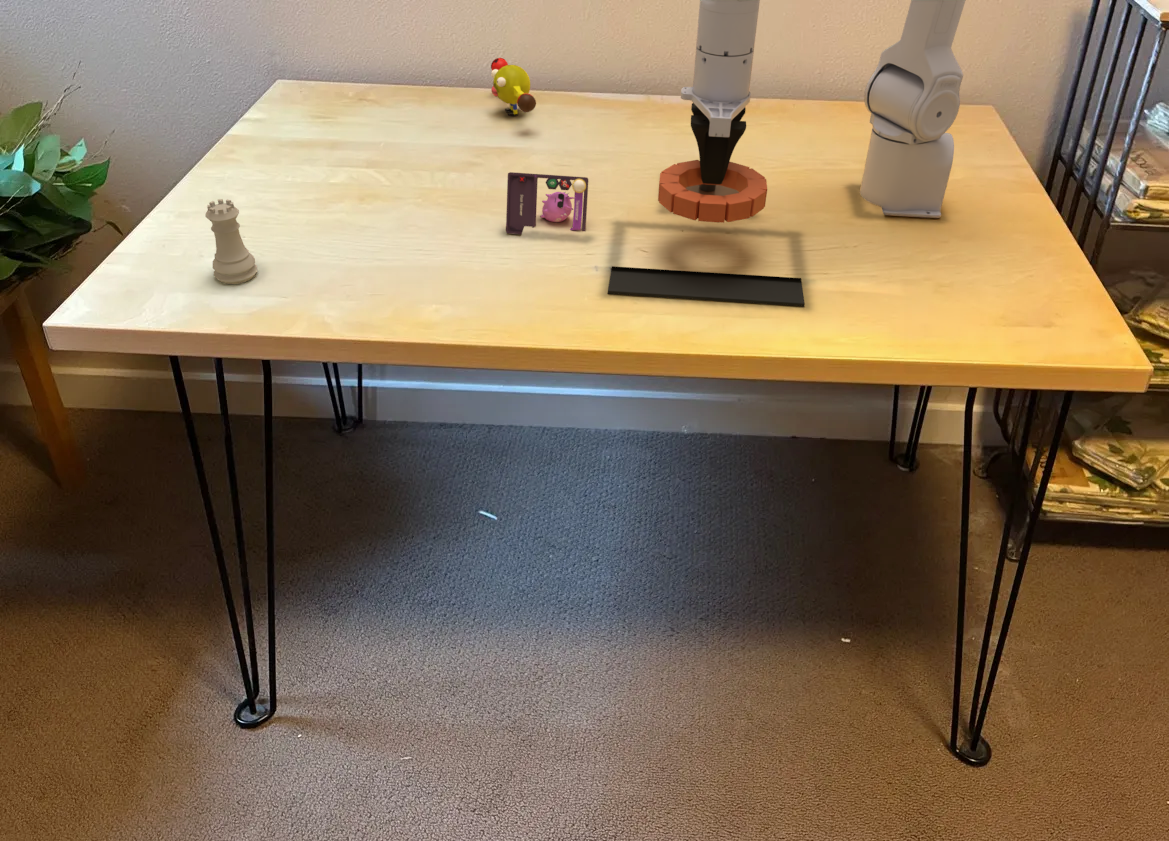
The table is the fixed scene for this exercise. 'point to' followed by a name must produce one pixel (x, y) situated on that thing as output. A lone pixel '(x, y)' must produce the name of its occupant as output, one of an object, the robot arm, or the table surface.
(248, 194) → the table surface
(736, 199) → the ring
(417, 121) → the table surface
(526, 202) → the game card
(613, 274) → the tray
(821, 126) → the table surface
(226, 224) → the rook chess piece
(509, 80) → the toy figure
